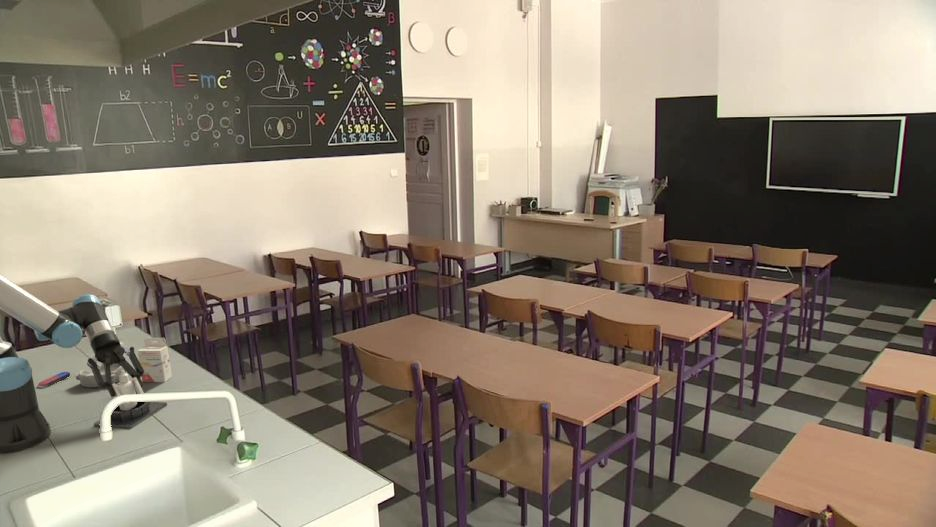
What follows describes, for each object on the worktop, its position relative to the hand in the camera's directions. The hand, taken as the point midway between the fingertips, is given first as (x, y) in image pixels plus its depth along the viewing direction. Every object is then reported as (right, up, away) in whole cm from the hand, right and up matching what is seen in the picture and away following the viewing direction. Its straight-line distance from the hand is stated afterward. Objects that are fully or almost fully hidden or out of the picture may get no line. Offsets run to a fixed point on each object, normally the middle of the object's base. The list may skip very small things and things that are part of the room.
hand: (132, 400), depth 198 cm
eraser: (-45, -1, +35) cm, 57 cm away
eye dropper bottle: (-3, -3, +3) cm, 5 cm away
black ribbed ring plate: (-2, -5, +4) cm, 7 cm away
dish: (-26, -1, +33) cm, 42 cm away
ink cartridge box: (-7, 0, +32) cm, 33 cm away
